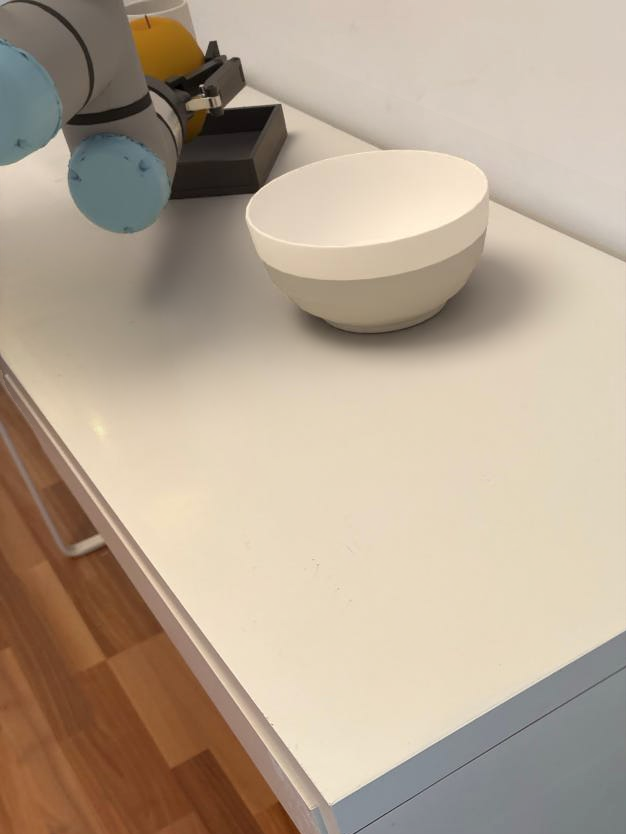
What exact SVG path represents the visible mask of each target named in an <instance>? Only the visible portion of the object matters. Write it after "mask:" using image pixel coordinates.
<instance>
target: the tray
mask: <svg viewBox="0 0 626 834" xmlns="http://www.w3.org/2000/svg"><path fill="white" fill-rule="evenodd" d="M287 129H288V128H287V123H286V119H285V114H284V109H283V105H282V103H272V104H261V105H248V106H236V107H235V106H234V107H224V114H223V115H221V116H219V117H213V116H211V113H207V115H206V118H205V121H204V124H203V127H202V130H201V132H200V133H199V134H198V135H197V136H196V137H195V138H194V139H193V140H192V141H190V142H188V143H186V144H183V148H182V150H181V153H180V156H179V159H178V163H177V166H176V171H175V175H174V179H173V183H172V187H171V194H170V199H169V200H175V199H177V200H178V199H189V198H197V197H198V198H201V197H214V196H228V195H240V194H252V193H253V194H255V193H257V192H258V191H259V190H260V189H261V188H262V187H264V186H265V185H266V181H267V179H268V178H269V175H270V173H271V171H272V168H273V167H274V164H275V162H276V160H277V158H278V156H279V154H280V151H281V149H282V147H283V145H284V143H285V141H286V138H287V137H288V130H287Z"/></svg>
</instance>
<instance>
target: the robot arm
mask: <svg viewBox="0 0 626 834" xmlns="http://www.w3.org/2000/svg"><path fill="white" fill-rule="evenodd" d="M124 5H125V3H124V0H9V1H7V2H5V3H3V4H1V5H0V167H5V166H9V165H13V164H16V163H18V162H19V161H21V160H23V159H25V158H26V157H28V156H30V155H31V154H33V153H35V152H37V151H38V150H40V149H42V148H44V147H46V146H47V145H48V144H49V143H50V142H51V140H52V139H55V137H56V136H57V135H58V133H59V132H60V130H61V131H62V134H63V136H64V140H65V142H66V145H67V147H68V151H69V153H70V158H69V160H68V164H67V167H68V169H67V170H68V171H67V187H68V190H69V193H70V196H71V199H72V201H73V203H74V204H75V206H76V208H77V209H78V211H80V213H81V214H82V215H83V216H84V217H85V218H86V219H87V220H88V221H90V222H91V223H93V224H94V225H95V226H96V227H99V228H100V229H103V230H104V231H105V230H106V231H108V232H111V233H115V234H121V235H122V234H123V235H126V234H129V235H132V234H135V233H139V232H142V231H145V230H146V229H148V228H149V227H151V226H152V225H153V224H154V223H155V222H156V221H157V220H158V219H159V217H160V216H161V213H162V212H163V210H164V209H165V208H166V207H167V205H168V203H169V200H171V199H170V194H171V187H172V183H173V179H174V175H175V171H176V166H177V163H178V159H179V156H180V153H181V150H182V148H183V144H184V141H185V138H186V133H187V124H188V120H189V119H191V118H192V117H193V116H194V114H195V110H201V109H205V111H206V113H211V116H213V117H219V116H221V115H223V114H224V108H226V107H227V106H228V104H230V102H232V100H233V99H234V98H235V97H236V96H238V94H240V92H241V91H242V90H244V88H245V87H247V82H246V78H245V74H244V68H243V65H242V60H241V58H240V57H238V56H232V57H231V58H229V59H228V56H227V55H226V54H221V52H220V49H219V43H218V41H217V40H216V39H215V40H209V42H208V45H207V48H206V51H205V54H204V56H205V58H204V59H205V63H206V64H204V65H202V66H200V67H198V68H197V69H195V70H193V71H191V72H189V73H188V74H186V75H184V76H176V75H172V76H170V77H168V78H166V79H165V80H163V81H160V80H159V79H157V78H155V77H152V76H150V75H146V74H144V73H143V69H142V66H141V62H140V59H139V55H138V52H137V48H136V45H135V41H134V38H133V34H132V31H131V27H130V24H129V20H128V16H127V13H126V9H125V6H124Z"/></svg>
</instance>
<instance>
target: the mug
mask: <svg viewBox="0 0 626 834" xmlns="http://www.w3.org/2000/svg"><path fill="white" fill-rule="evenodd" d="M124 6H125V9H126V13H127V16H128V20H129V22H131V21H134V20H136V19H139V18H145V16H144V15H147V17H161V18H171V19H173V20H175V21H178V22H179V23H180V24H181V25H182V26H183V27H184V28H185V29H186V30H187V31H188V32H189V33H190V34H191V35H192V36H193V38H194V39H195V41H196V43H197V44H198V45H199V43H198V39H197V35H196V32H195V27H194V23H193V20H192V16H191V12H190V8H189V4H188V1H187V0H135V1H132V2H129V3H126V4H124Z"/></svg>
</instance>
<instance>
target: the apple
mask: <svg viewBox="0 0 626 834" xmlns="http://www.w3.org/2000/svg"><path fill="white" fill-rule="evenodd" d="M144 16H145V18H139V19H136V20H134V21H131V22H129V24H130V27H131V31H132V34H133V38H134V41H135V45H136V48H137V52H138V55H139V59H140V62H141V66H142V69H143V73H144V74H146V75H150V76H152V77H155V78H157V79H159V80H160V81H163V80H165V79H166V78H168V77H170V76H172V75H176V76H184V75H186V74H188V73H189V72H191V71H193V70H195V69H197V68H198V67H200V66H202V65H204V64H206V63H205V59H204V58H205V54H204V52H203V50H202V48H201V47H200V45H199V43H198V42H197V43H198V44H197V43H196V41H195V39H194V38H193V36H192V35H191V34H190V33H189V32H188V31H187V30H186V29H185V28H184V27H183V26H182V25H181V24H180V23H179V22H178V21H175V20H173V19H171V18H161V17H147V15H144ZM206 115H207V113H206V111H205V109H201V110H195V114H194V116H193V117H192V118H191V119H189V120H188V124H187V133H186V138H185V141H184V144H186V143H188V142H190V141H192V140H193V139H194V138H195V137H196V136H197V135H198V134H199V133H200V132H201V130H202V127H203V124H204V121H205V118H206Z"/></svg>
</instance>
